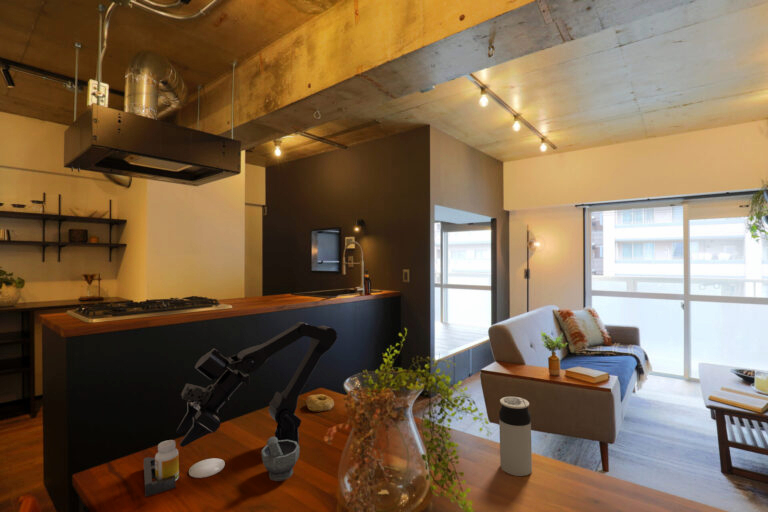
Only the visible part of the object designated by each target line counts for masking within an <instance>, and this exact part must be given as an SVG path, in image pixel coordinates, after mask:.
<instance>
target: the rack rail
mask: <svg viewBox="0 0 768 512" xmlns="http://www.w3.org/2000/svg"><path fill="white" fill-rule="evenodd" d="M143 471H144V472H143V474H144V475H143V476H144V477H143V478H144V497H145V498H147V497H150V496H153V495H156V494H160V493H164V492H166V491H169V490H174V489H176V481H175V475H173V476H170V477H167V478H163V479H160V480H156V481H155V480H154V481H153V479H155V456H154V457H151V456H148V457H144V458H143Z"/></svg>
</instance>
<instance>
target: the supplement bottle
mask: <svg viewBox="0 0 768 512" xmlns="http://www.w3.org/2000/svg"><path fill="white" fill-rule="evenodd" d="M157 451H158V452H156V454H155V456H154V457H155V478H154V481H156V480H160V479H163V478H167V477H170V476H173V475H175V482H176V481H177V480H179V478H180V464H179V460H180V459H179V454H180V453H179V449H177V447H176V440H173V439H169V440H164V441H161V442H160V443H158V445H157Z"/></svg>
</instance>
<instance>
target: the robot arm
mask: <svg viewBox="0 0 768 512" xmlns="http://www.w3.org/2000/svg"><path fill="white" fill-rule="evenodd" d="M303 337H308V338H310V343H309V348H308V350H307V352H306V354H305V355H304V357H303V358H302V361H301V362H300V363H299V365H298V367H297V369H296V371H295V372H294V374H293V376H292V377H291V379H290V381H289V382H288V384H287V386H286V388H285V389H284V390H283V391H281V392H279V391H276V392H275V393H274V396H273V398H272V399H271V401H269V402H268V404H269V406H268V414H269V416H270V417H271V418H272V419H273V420H274V421H275V422H276V428H275V431H274V437H277V439H278V441H279V440H292V441H296V442H297V443H298V445H299V446H300V444H299V443H300V436H299V428H300V427H301V425H302V424H301V422H302V419H301V418H300V417H299V416H297V415H296V414H295V412H296V410H297V407H298V401H299V397H300V394H301V393H302V391H303V389H304V388H305V386H306V384H307V382H308V380H309V379H310V378H311V375H312V374H313V372H314V370H315V369H316V367H317V365H318V363H319V361H320V360H321V358H322V356H323V355H324V354H326V353H327V352H328V351H330V350H331V348H332V347H333V345H334V344H336V341H337V340H338V333H337V332H336V329H334V328H333V327H329V326H326V325H319V326H315V325H312V324H308V323H306V322H303V321H298V322H297V323H295V324H294V325H292V326H291V327H290V328H288V329H286V330H284V331H282V332H281V333H279V334H277V335H275V336H274V337H272V338H271V339H269V340H267V341H265V342H264V343H261V344H258V345H254V346H249V347H248V348H246V349H243V350H241V351H240V352H238V353H237V354H234V355H231V356H228V357H224V355H222V354H221V353H220V352H219V351H218V350H217V349H216V348H212V349H211V350H210V351H208V352H206V354H204V355H202V356H201V357H200V358H199V359H198V361H197V362H196V364H195V365H194V369H196V371H198V372H199V373H201V375H203V376H204V377H206V378H207V379H209V380H210V381H213V380H216V382H214V384H212V383H211V384H208V385H207V387H203V386H201V385H200V386H199V385H195V384H191V383H185V385H184V388H183V389H182V391H181V394H180V396H181V399H182V400H185V401H187V402H186V405H187V411H186V414H185V415H184V416H183V419H182V420H181V421H180V423H179V425H178V427H177V429H176V431H175V432H176V433H177V434H181V433H183V432H184V431H185V430H187V429H189V430H188V432H186V434H185V435H184V437H183V438H182V439H181V441H180V443H179V446H181V448H184V447H186V446H187V445H189V444H191V443H193V442H195V441H197V440H199V439H200V438H203V437H204V436H207V435H209V434H212V433H216V432H217V431H218V429H220V427H221V420H220V418H219V417H218V415H219V410H220V409H221V408H222V407H223V405H224V404H225V403H226V404H228V403H229V402H230V401H231V400H230V397H231V396H232V395H233V394H234V392H236V390H237V389H238V388H239V387H240V385H241V384H242V383H243V384H244V385H246V386H247V387H248V386H250V385H251V384H250V377H251V376H250V375H249V374H253V373H256V371H257V370H259V369H260V368H261V367H262V366H263V365H264V364H266V362H267V361H268V360H269V359H270V358H271V357H272V356H274V355H275V354H277V353H278V352H280V351H282V350H284V349H285V348H286V347H288V346H290V345H292V344H293V343H294V342H297V341H298V340H300V339H301V338H303ZM229 367H230V368H229ZM232 369H233V370H232ZM241 371H242V372H241ZM244 373H245V374H244Z"/></svg>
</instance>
